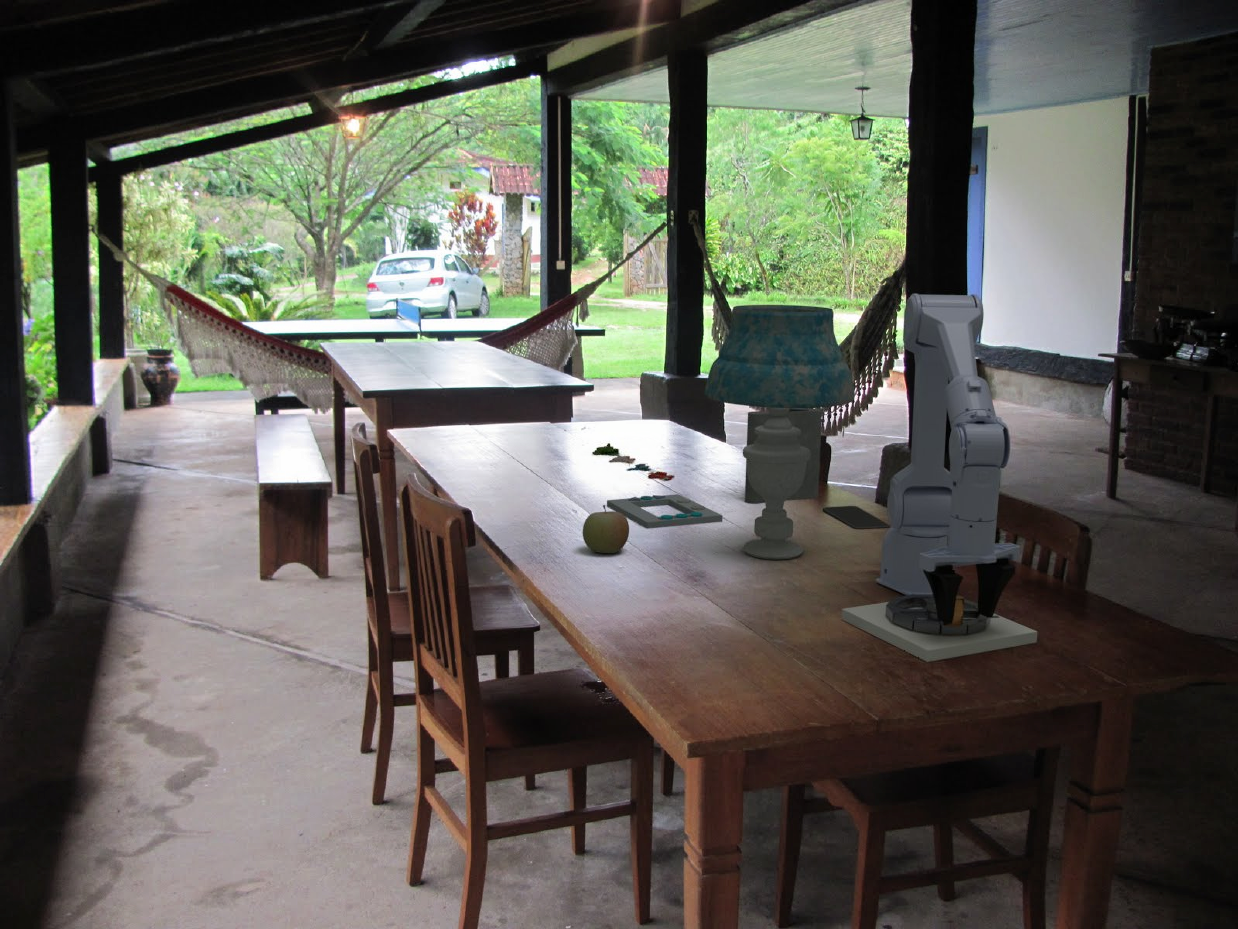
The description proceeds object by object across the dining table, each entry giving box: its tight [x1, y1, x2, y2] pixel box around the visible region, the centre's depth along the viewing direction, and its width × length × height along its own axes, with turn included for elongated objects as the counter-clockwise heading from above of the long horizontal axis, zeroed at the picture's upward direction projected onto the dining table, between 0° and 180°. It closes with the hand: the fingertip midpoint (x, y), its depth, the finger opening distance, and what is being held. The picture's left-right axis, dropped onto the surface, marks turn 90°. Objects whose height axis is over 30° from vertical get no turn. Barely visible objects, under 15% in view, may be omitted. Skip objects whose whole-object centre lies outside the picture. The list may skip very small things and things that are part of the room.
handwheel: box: [886, 594, 991, 634], centre depth 164 cm, size 14×13×5 cm
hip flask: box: [744, 408, 823, 505], centre depth 239 cm, size 16×4×20 cm, turn 112°
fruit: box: [582, 504, 630, 554], centre depth 201 cm, size 8×7×8 cm
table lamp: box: [704, 304, 856, 561], centre depth 198 cm, size 24×24×40 cm
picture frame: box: [606, 493, 723, 530], centre depth 228 cm, size 18×2×15 cm
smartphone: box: [822, 505, 891, 530], centre depth 226 cm, size 7×1×15 cm
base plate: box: [841, 601, 1038, 663], centre depth 165 cm, size 18×18×2 cm
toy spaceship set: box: [592, 442, 675, 481], centre depth 272 cm, size 35×6×3 cm, turn 25°
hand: (965, 618), depth 159 cm, fingers open, 6 cm apart
